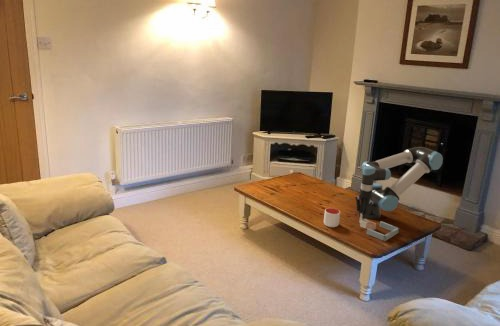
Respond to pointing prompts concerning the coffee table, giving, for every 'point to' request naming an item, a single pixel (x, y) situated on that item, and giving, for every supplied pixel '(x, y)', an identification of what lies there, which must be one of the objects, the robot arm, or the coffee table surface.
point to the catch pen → (380, 236)
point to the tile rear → (364, 223)
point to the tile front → (371, 225)
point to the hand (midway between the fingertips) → (361, 222)
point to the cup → (331, 217)
